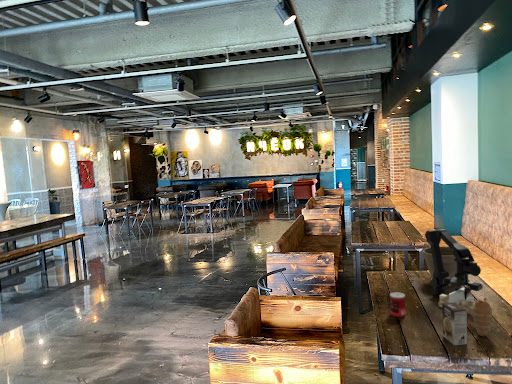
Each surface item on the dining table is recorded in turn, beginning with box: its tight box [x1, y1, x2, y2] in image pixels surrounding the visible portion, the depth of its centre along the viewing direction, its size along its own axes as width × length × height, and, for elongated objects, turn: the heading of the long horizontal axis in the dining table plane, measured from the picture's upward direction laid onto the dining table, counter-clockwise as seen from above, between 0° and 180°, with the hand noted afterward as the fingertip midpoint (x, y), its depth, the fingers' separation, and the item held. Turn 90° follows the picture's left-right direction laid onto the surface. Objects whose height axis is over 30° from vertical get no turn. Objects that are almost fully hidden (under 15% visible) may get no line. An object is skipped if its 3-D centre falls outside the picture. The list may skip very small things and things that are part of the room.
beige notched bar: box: [437, 294, 476, 317], centre depth 208 cm, size 20×6×6 cm, turn 35°
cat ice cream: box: [472, 296, 493, 337], centre depth 178 cm, size 9×8×18 cm
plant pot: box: [422, 246, 467, 288], centre depth 250 cm, size 25×25×22 cm
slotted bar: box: [448, 287, 469, 305], centre depth 208 cm, size 14×3×8 cm, turn 125°
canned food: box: [389, 291, 407, 318], centre depth 207 cm, size 8×8×11 cm
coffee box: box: [442, 302, 468, 346], centre depth 176 cm, size 9×6×16 cm
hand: (462, 298), depth 210 cm, fingers closed on slotted bar, 3 cm apart
